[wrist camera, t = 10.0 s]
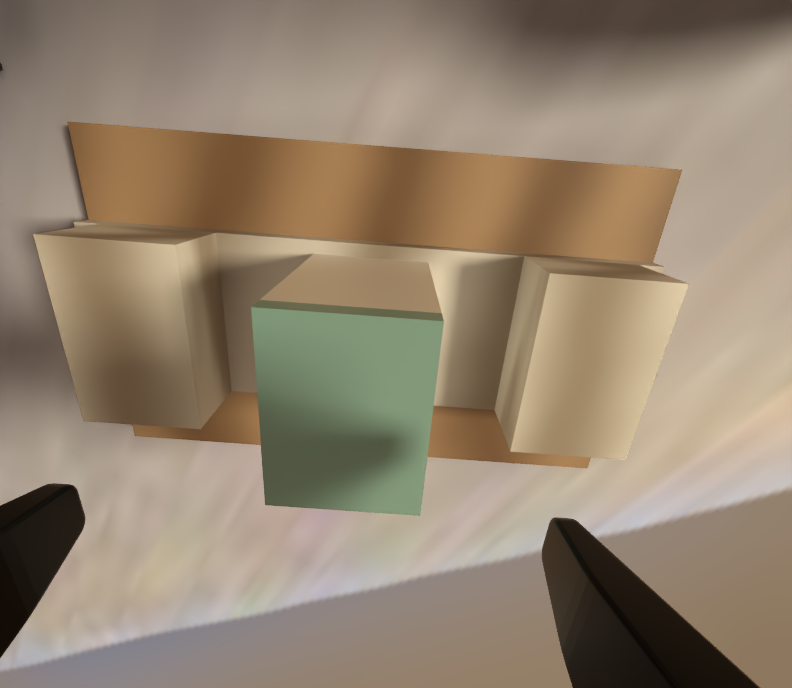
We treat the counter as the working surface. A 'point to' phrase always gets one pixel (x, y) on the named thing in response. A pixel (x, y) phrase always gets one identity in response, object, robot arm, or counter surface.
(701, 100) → the counter surface
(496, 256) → the board
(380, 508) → the block
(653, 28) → the counter surface
